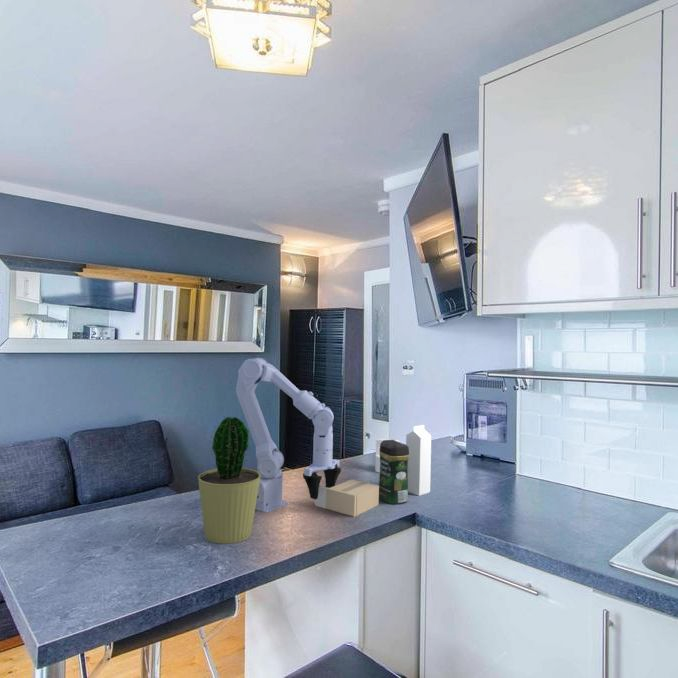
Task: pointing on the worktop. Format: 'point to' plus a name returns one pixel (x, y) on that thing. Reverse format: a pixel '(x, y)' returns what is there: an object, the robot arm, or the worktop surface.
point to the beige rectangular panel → (336, 501)
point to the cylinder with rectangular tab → (377, 463)
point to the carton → (361, 494)
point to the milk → (419, 460)
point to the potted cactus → (229, 486)
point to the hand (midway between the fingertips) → (322, 495)
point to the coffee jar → (393, 472)
